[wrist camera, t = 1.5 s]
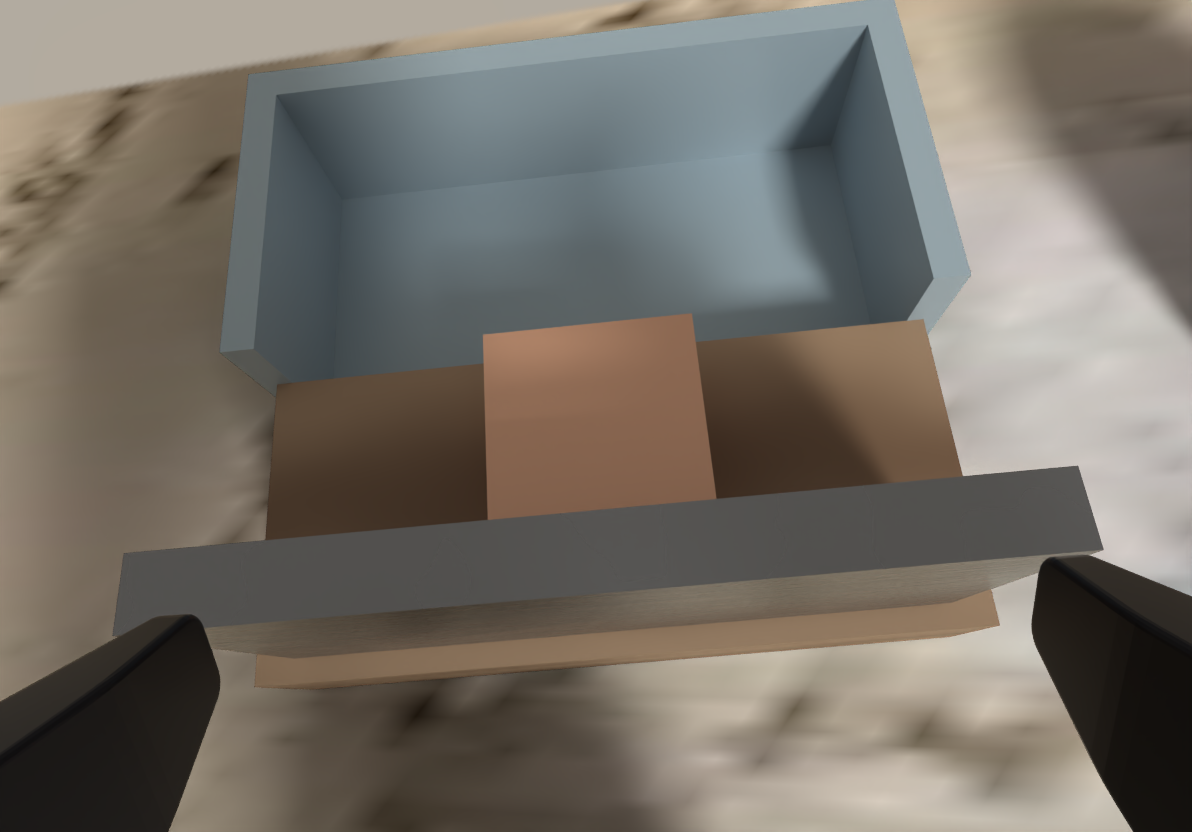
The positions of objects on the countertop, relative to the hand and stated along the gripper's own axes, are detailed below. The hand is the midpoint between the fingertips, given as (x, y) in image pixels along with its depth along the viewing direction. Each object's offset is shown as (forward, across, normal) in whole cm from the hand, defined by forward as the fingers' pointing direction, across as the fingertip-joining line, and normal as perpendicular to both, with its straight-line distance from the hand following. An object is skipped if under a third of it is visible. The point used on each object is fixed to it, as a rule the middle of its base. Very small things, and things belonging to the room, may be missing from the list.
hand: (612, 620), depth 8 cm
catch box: (+16, 0, 0) cm, 16 cm away
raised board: (+11, 0, +5) cm, 12 cm away
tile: (+10, 0, +3) cm, 10 cm away
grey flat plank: (+7, 0, +5) cm, 9 cm away
